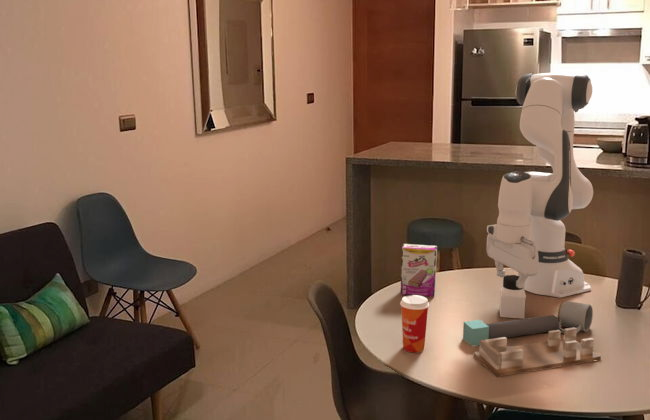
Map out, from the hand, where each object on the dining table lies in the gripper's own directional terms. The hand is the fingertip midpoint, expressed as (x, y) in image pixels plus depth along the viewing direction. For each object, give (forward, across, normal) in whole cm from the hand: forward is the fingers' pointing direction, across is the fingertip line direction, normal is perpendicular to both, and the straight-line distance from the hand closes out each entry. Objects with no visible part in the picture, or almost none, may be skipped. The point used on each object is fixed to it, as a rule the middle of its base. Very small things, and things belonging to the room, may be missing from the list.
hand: (510, 281), depth 184 cm
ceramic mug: (+16, -1, -21) cm, 27 cm away
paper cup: (+17, +2, +28) cm, 32 cm away
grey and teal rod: (+16, 0, -2) cm, 16 cm away
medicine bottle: (+16, +14, -11) cm, 24 cm away
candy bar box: (+16, +38, +9) cm, 43 cm away
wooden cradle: (+16, -14, 0) cm, 21 cm away
